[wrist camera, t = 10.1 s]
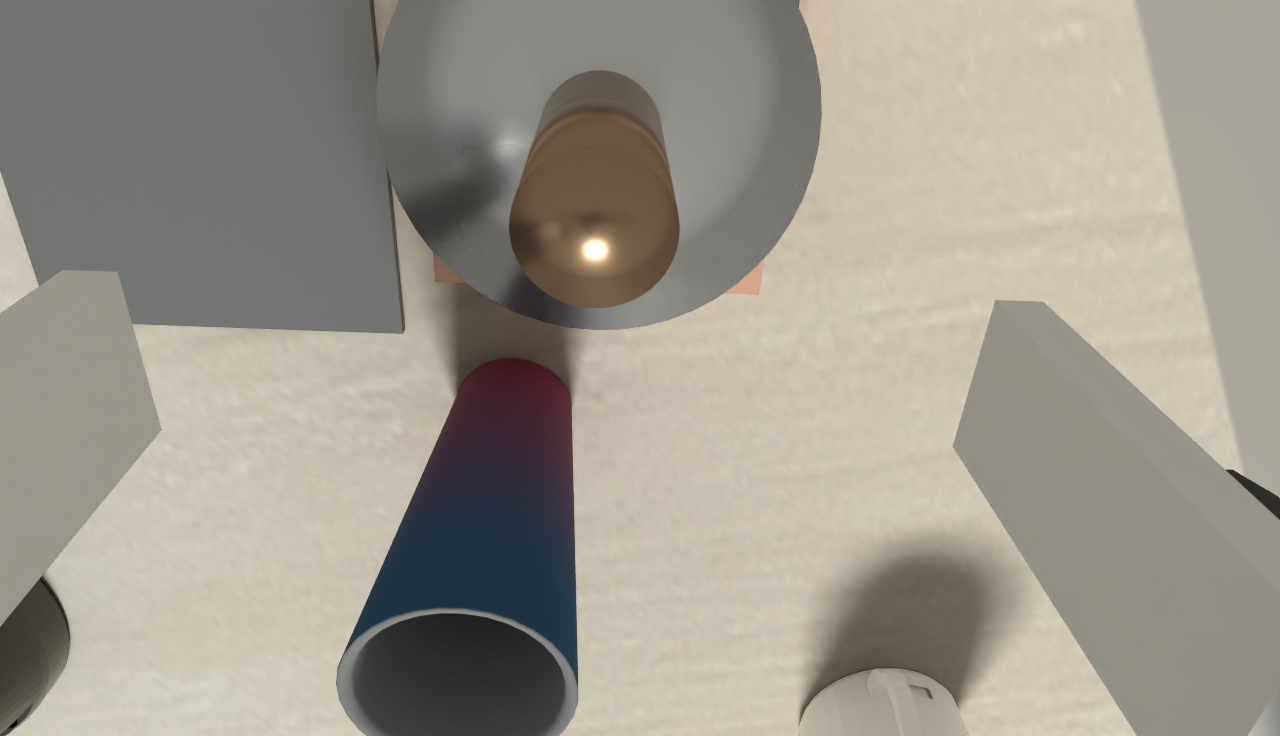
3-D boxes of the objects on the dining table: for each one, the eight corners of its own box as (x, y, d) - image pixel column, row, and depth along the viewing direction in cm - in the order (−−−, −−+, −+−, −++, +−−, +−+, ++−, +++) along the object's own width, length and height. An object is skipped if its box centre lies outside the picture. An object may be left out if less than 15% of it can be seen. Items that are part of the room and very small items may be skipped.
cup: (438, 330, 34) (330, 597, 22) (601, 349, 35) (591, 619, 22) (434, 461, 38) (339, 760, 25) (583, 476, 38) (565, 776, 26)
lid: (405, 306, 28) (323, 469, 20) (363, -138, 22) (218, -152, 14) (780, 321, 29) (842, 484, 21) (848, -106, 23) (975, -102, 15)
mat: (56, 316, 34) (51, 321, 33) (-73, -73, 27) (-82, -72, 26) (404, 329, 34) (402, 333, 34) (367, -47, 27) (364, -46, 27)
